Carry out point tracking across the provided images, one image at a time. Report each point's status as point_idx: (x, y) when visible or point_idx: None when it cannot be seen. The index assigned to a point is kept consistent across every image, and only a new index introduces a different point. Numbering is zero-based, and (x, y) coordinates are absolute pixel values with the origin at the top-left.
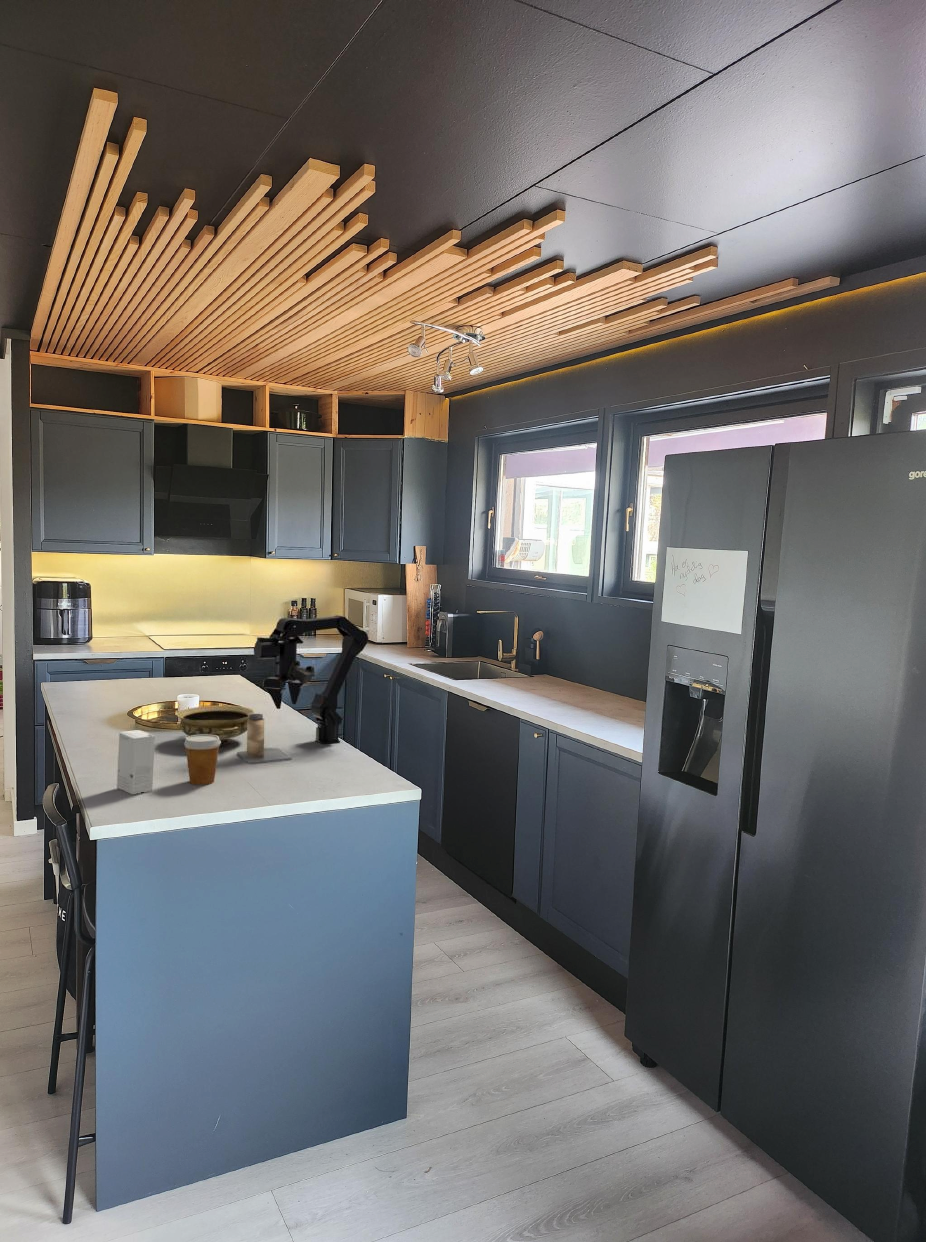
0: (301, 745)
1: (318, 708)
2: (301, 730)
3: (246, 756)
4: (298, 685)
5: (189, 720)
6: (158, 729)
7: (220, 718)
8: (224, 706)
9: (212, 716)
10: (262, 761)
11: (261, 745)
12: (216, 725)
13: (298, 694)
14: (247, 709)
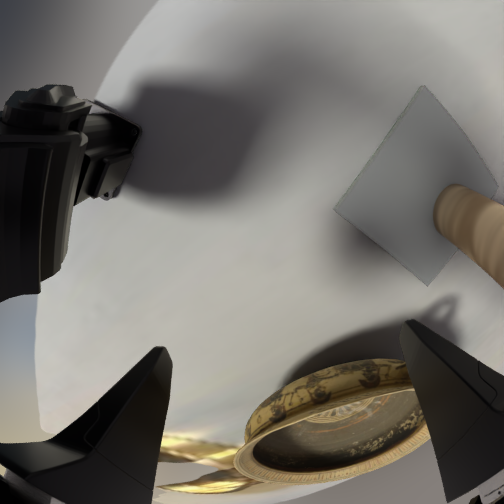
0: (211, 182)
1: (48, 182)
2: (71, 315)
3: None
4: (84, 486)
5: None
6: None
7: (265, 450)
8: (253, 475)
9: (277, 459)
10: (480, 158)
11: (485, 196)
12: None
13: (108, 401)
14: (244, 449)
